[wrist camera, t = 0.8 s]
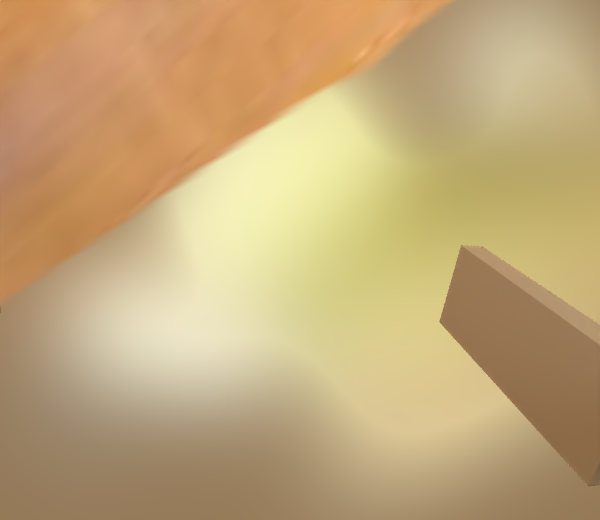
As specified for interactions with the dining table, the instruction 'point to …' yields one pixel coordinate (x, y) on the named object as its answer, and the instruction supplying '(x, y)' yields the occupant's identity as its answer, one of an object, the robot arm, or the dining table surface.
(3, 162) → the dining table surface
